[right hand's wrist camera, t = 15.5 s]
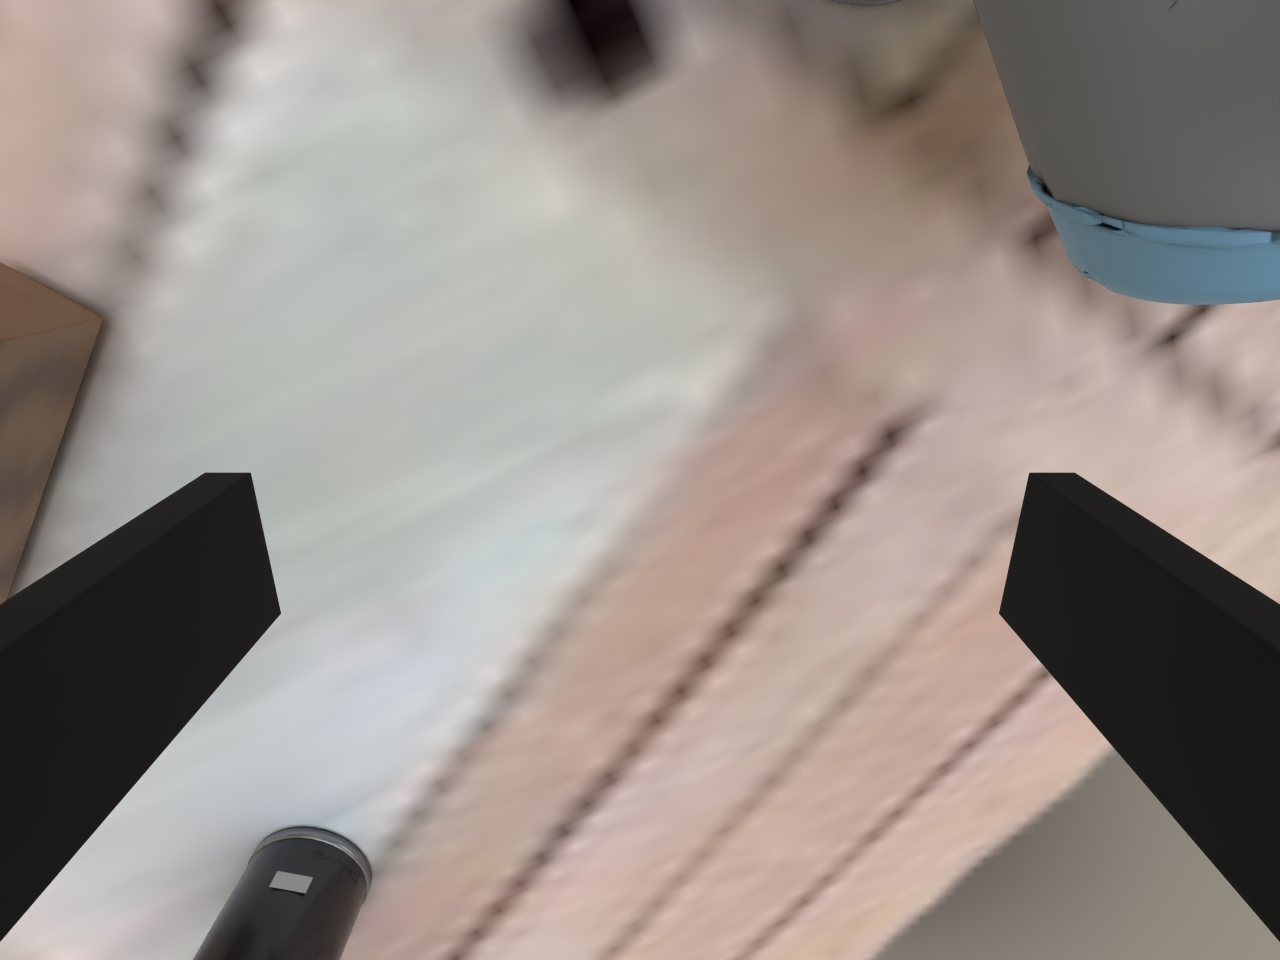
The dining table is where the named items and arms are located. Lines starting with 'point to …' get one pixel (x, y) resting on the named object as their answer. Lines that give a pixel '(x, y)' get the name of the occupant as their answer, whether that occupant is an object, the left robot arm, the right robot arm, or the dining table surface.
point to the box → (34, 399)
